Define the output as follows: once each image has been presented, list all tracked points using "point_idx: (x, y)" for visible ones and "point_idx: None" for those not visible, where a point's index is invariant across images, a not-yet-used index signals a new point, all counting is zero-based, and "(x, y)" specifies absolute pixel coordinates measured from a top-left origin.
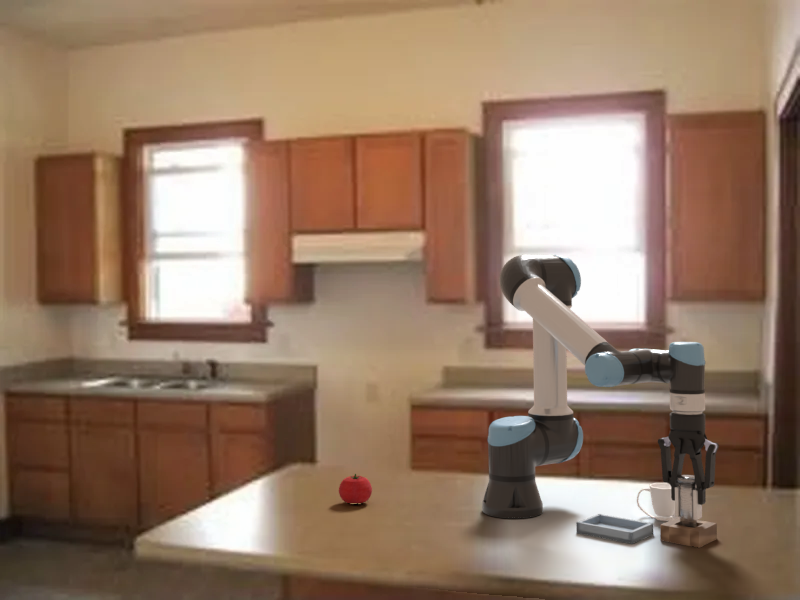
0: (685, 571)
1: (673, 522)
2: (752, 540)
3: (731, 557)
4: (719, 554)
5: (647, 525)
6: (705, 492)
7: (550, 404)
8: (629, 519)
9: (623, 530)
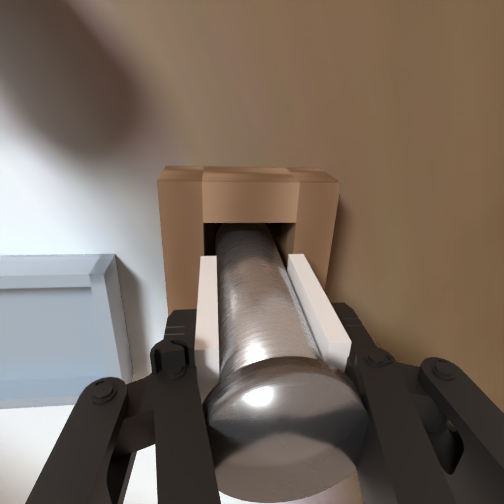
0: None
1: (190, 279)
2: (439, 101)
3: (404, 317)
4: (371, 313)
5: (106, 309)
6: (373, 342)
7: None
8: None
9: None
